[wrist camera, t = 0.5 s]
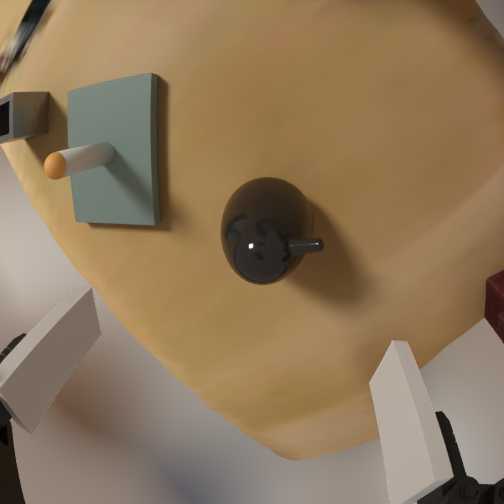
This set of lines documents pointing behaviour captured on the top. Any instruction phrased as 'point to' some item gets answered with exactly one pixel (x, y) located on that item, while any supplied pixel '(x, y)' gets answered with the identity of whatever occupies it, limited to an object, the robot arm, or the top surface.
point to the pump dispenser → (267, 230)
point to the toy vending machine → (495, 303)
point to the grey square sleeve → (23, 115)
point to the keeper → (112, 152)
